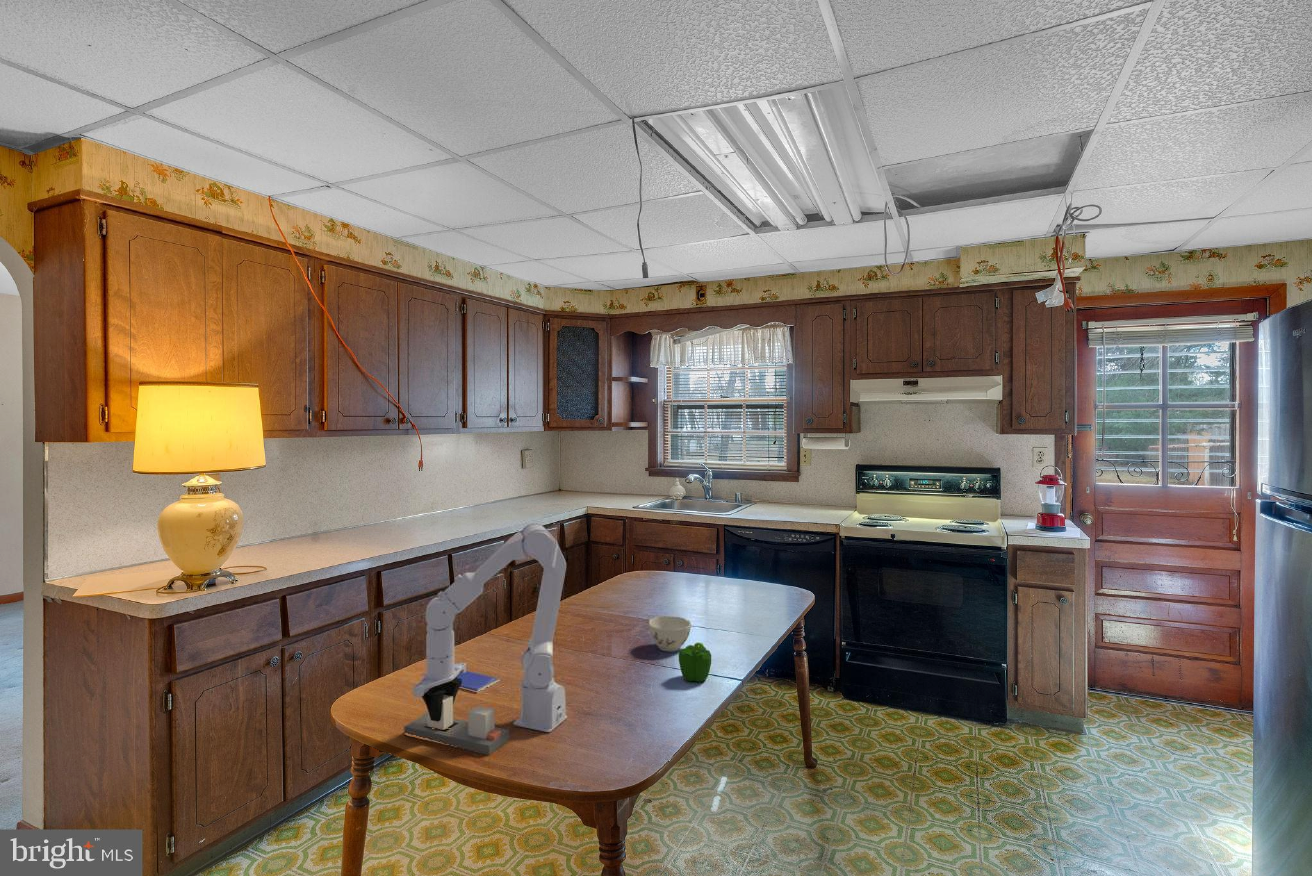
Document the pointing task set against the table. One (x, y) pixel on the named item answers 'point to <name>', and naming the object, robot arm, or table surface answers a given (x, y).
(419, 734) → the slotted gray plate
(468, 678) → the blue book
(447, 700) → the plug
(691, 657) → the bell pepper
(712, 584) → the table surface
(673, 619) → the teacup
